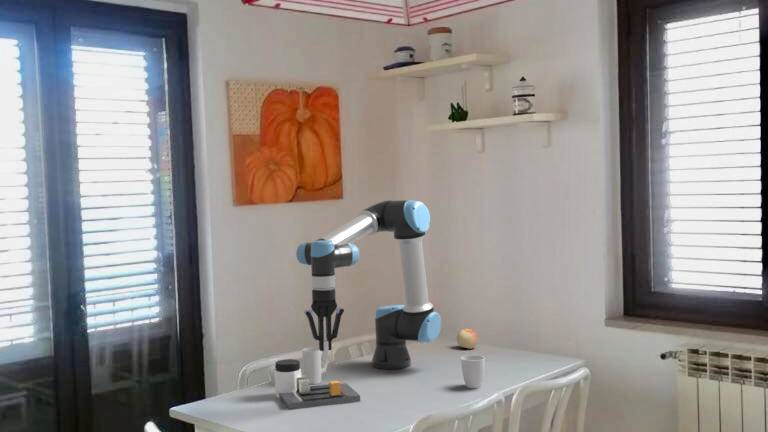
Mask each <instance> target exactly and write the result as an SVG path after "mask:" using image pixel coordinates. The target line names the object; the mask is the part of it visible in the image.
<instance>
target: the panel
mask: <svg viewBox="0 0 768 432" xmlns="http://www.w3.org/2000/svg"><path fill="white" fill-rule="evenodd" d="M340 388H341V395H335V396H331V395H330V394H329V384H322V385H321V384H320V385H319V384H317V385H311V384H310V381H309V380H308V379H306V376H305V375H303V374H301V376H300V377H297V391H296V392H292V393H280V392H279V398H278V399H279V400H280V401H281V402H282V404H283V405H284V406H285V408H286V409H287V411H288V410H297V409H305V408H315V407H321V406H332V405H339V404H340V405H341V404H348V403H349V404H351V403H358V402H361V395H360V393H359V392H357V391H356V389H355V390H354V389H353V388H352V387H351V386H350V385H349V384H348V383H340Z"/></svg>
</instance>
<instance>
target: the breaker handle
mask: <svg viewBox="0 0 768 432" xmlns="http://www.w3.org/2000/svg"><path fill="white" fill-rule="evenodd" d="M328 383H329V394H330V395H331V396H335V395H341V388H340V384H341V382H340V381H339V380H331V381H328Z"/></svg>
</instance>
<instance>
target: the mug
mask: <svg viewBox="0 0 768 432" xmlns="http://www.w3.org/2000/svg"><path fill="white" fill-rule="evenodd" d="M301 350H302V352H301V353H302V371H303V373H302V375H305V376H306V379H308V380H309V381H310V385H319V384H321V383H322V374H324V373H326V371H327V367H328V363H329V361H324V364H323V367H322V356H323V355H322V351H320V349H319V347H315V346H312V347H311V346H310V347H305V348H302V349H301Z"/></svg>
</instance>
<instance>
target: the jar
mask: <svg viewBox="0 0 768 432" xmlns="http://www.w3.org/2000/svg"><path fill="white" fill-rule="evenodd" d="M274 366H275V369H274V397H276V398H278V399H280V398H279V392H280V393H292V392H296V391H297V377H300V376H301V375H302V369H301V368H300V367H301V365H300V360H298V359H294V358H292V359H290V358H289V359H288V358H286V359H279V360H277V361H275V365H274Z"/></svg>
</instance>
